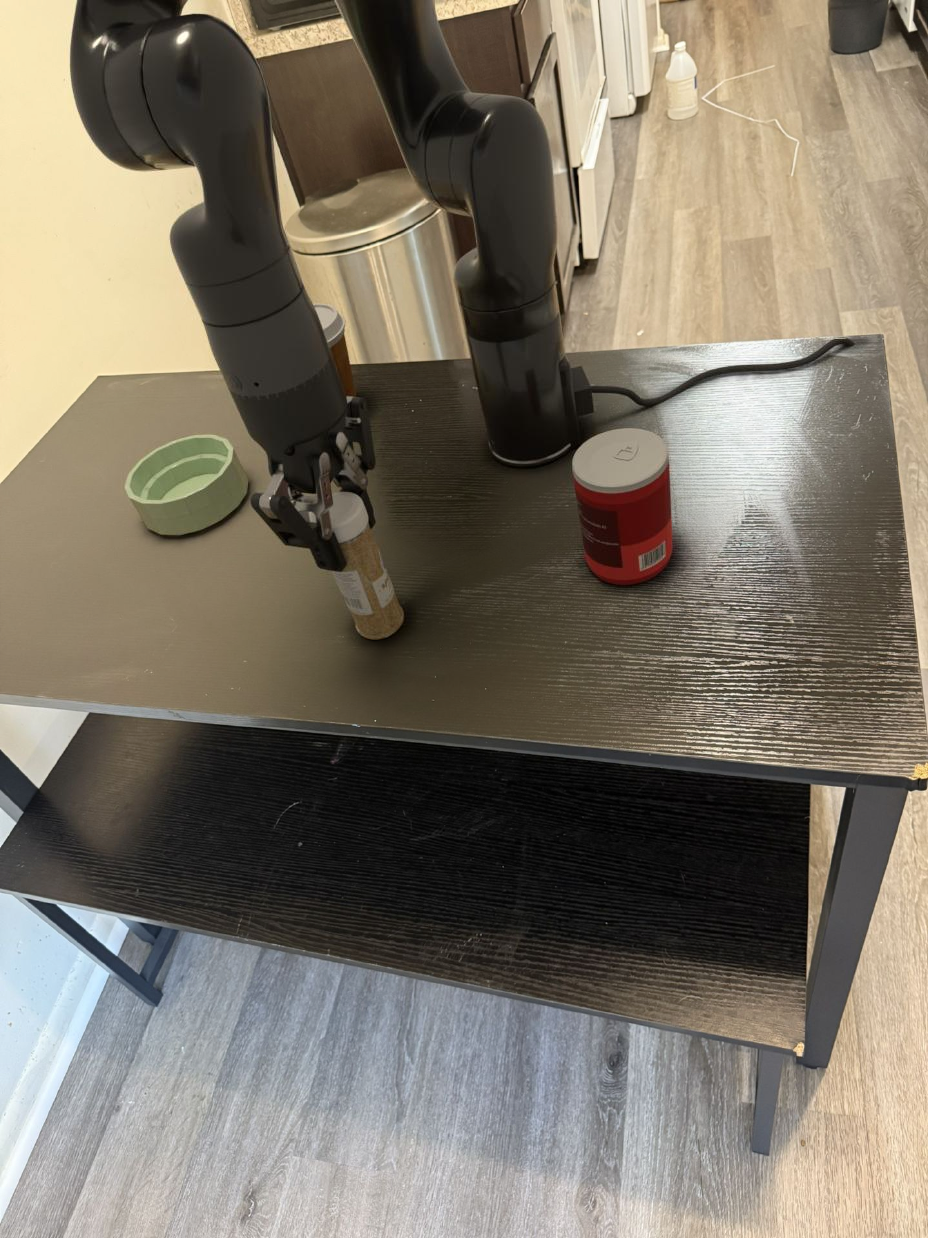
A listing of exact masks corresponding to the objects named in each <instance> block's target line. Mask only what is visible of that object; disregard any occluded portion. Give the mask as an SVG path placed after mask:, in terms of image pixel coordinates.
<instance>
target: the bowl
mask: <svg viewBox="0 0 928 1238" xmlns="http://www.w3.org/2000/svg"><path fill="white" fill-rule="evenodd" d="M241 463H242V462H241V461H240V459H239V457H238V455H237V452H236V450H235V448H234V446H233V445H232V444H231V443H230V441H229V440H228V439H227V438H225V437H222V436H219V435H217V434H194V435H190V436H185V437H182V438H178V439H174V440H172V441H170V442H167V443H165V444H164V445H162V446H159V447H157V448H155V449H154V450H152V451H151V452H149V453H148V454H147V455H145V456H144V457H142V458H141V459H140V460H139V461H138V462H137V463H136V464H135V465H134V466H133V467H132V469H131V470H130V471H129V473H128V474H127V475H126V479H125V483H124V491H125V492H126V494H127V496H128V498H129V500H130V503H132V505H133V506H134V509H135V510H136V511H137V513H138V516H140V519H141V520H142V521H143V523H144V525H145V526H146V528H147V529H148V530H151V531H152V532H154V533H155V534H159V535H161V536H182V535H187V534H190V533H195V532H199V531H202V530H204V529H207V528H209V527H211V526H213V525H215V524H217V523H219V522H220V521H222V520H223V519H225V518H226V517H227V516H229V514H231V513H232V512H233V511H234V510H236V509H237V508H238V507H239V506H240V505H241V503H242V502H243V500H244V498H245V496H246V495H247V494H248V487H249V477H248V475H247V474H246V470H245V469H244V468H243V465H242V464H241Z"/></svg>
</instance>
